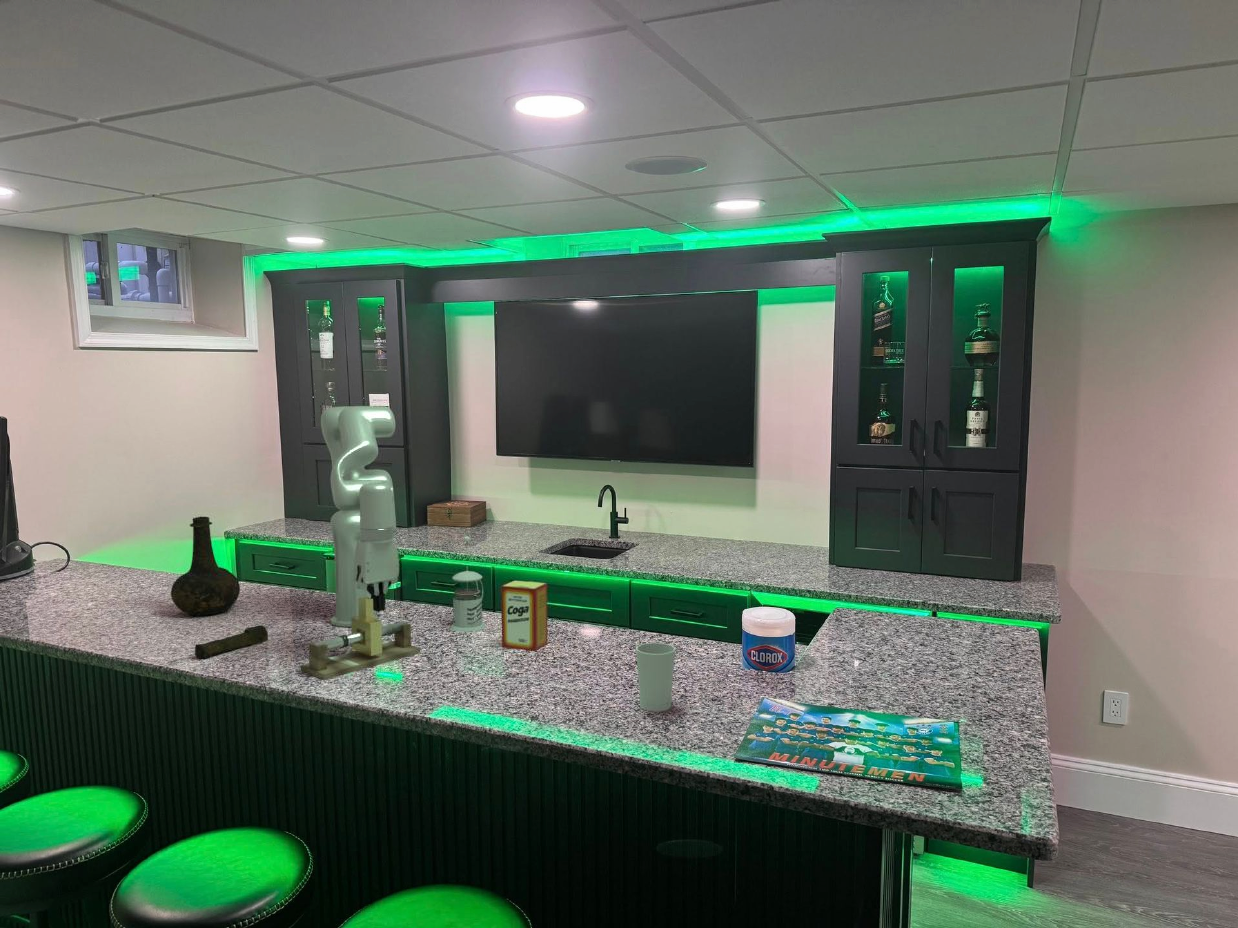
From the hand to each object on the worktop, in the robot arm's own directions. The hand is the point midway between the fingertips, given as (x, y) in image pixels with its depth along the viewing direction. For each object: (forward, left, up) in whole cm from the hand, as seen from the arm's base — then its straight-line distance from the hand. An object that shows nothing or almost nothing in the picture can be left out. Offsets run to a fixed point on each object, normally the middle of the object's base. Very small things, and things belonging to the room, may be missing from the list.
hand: (378, 609), depth 205 cm
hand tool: (+20, -34, -12) cm, 41 cm away
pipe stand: (+5, 0, -12) cm, 12 cm away
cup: (-17, +71, -12) cm, 74 cm away
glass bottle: (+8, -75, -12) cm, 76 cm away
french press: (-32, -5, -12) cm, 35 cm away
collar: (+3, 0, -9) cm, 10 cm away
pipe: (+5, 0, -7) cm, 8 cm away
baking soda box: (-29, +20, -12) cm, 37 cm away
